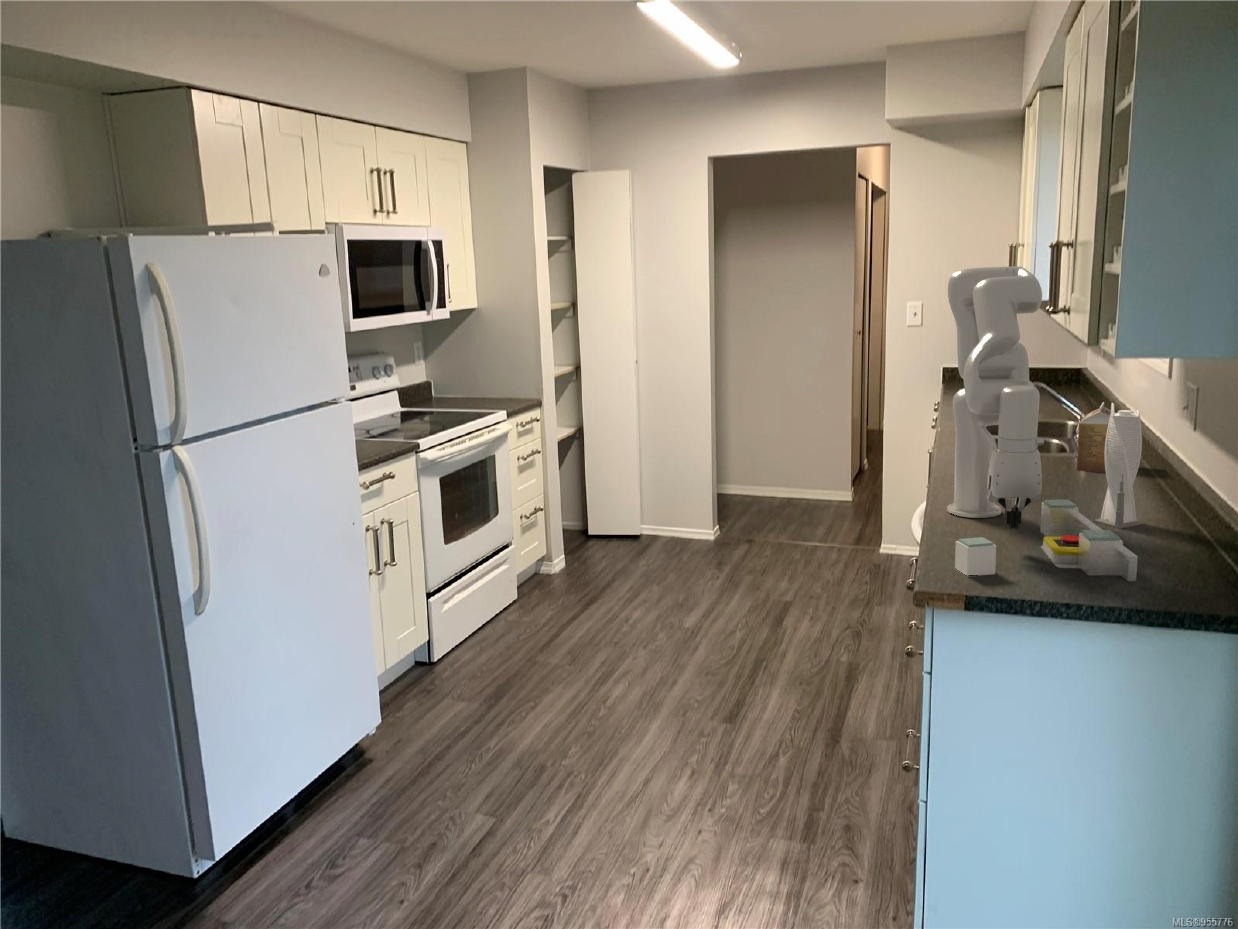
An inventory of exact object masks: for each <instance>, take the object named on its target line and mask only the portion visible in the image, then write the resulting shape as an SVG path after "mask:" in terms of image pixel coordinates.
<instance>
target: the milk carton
mask: <svg viewBox="0 0 1238 929" xmlns="http://www.w3.org/2000/svg"><path fill="white" fill-rule="evenodd" d="M1110 415H1111V408H1110V409H1109V408H1108V407H1105V402H1104V401H1103V402H1102V403H1101V405H1100V406H1099V408H1097V409H1095V410H1092V411H1090V412H1089V413H1087V414H1086V415H1084V416H1083V417H1082V418H1081V420H1080V422H1078V437H1077V438H1078V439H1077V458H1076V459H1077V460H1076V471H1079V472H1080V471H1081V472H1083V471H1084V472H1097V473H1106V470H1105V441H1106V434H1107V429H1108V424H1109V419H1110Z"/></svg>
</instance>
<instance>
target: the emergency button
mask: <svg viewBox="0 0 1238 929" xmlns="http://www.w3.org/2000/svg"><path fill="white" fill-rule="evenodd" d="M1041 548H1042V549H1043V550H1042V549H1041ZM1078 548H1079V537H1078V536H1070V535H1067V536H1062V537H1046V536H1043V540H1042V545H1040V549H1041V550H1042V551H1043V552H1044V554H1045V553H1046V554H1045V555H1046V556H1047V555H1048V556H1047V557H1048V559H1051V560H1050V561H1051V562H1052V564H1054V566H1055V567H1056V568H1059V569H1081V568H1080V567H1079V566H1078Z"/></svg>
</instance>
